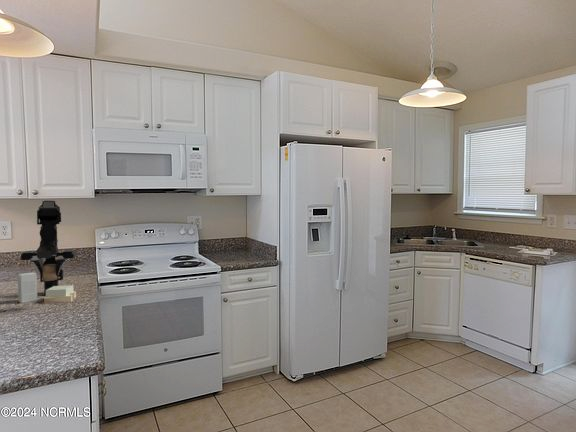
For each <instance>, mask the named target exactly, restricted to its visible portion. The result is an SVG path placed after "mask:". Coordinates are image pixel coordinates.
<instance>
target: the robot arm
mask: <svg viewBox="0 0 576 432" xmlns="http://www.w3.org/2000/svg"><path fill="white" fill-rule="evenodd" d="M41 202H42V204H41V205H40V206H39V207H38V209H37V211H36V224H37V225H40V227H39V228H40V229H39V236H40V240H39V247H37V249H36V251H32V250H31V251H30V250H29V251H24V252H22V253H21V254H20V261H30V263H33V264H35V266H36V267H37V269H38V271H39V277H40V280H39V281H40V283H43V293H42V294H41V296H46V290H47V289H49V288H51V287H53V286H59V281H62V280H64V270H63V268H62V266H63V264H64V263H65V261H67V260H69V259H75V258H77V251H76V250H75V249H68V250H67V249H65V250H64V251H62V252H59V248H58V242H59V240H58V226H57V225H60V224H61V222H62V212H61V208H60V206H59V205H58V204H56V201H55V200H42V201H41ZM47 264H57V270H56V275H57V280H53V281H43V269H42V266H43V265H47Z"/></svg>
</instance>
